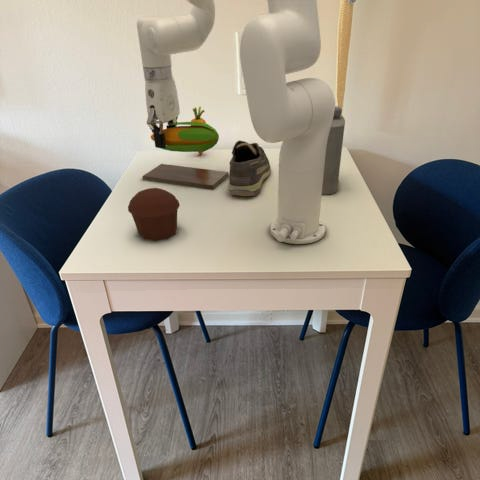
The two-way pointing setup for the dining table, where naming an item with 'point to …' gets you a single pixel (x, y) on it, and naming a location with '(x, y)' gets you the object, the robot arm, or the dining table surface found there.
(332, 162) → the flask
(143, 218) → the muffin
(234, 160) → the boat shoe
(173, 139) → the corn
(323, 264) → the dining table surface
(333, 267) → the dining table surface
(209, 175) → the board
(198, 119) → the carrot
